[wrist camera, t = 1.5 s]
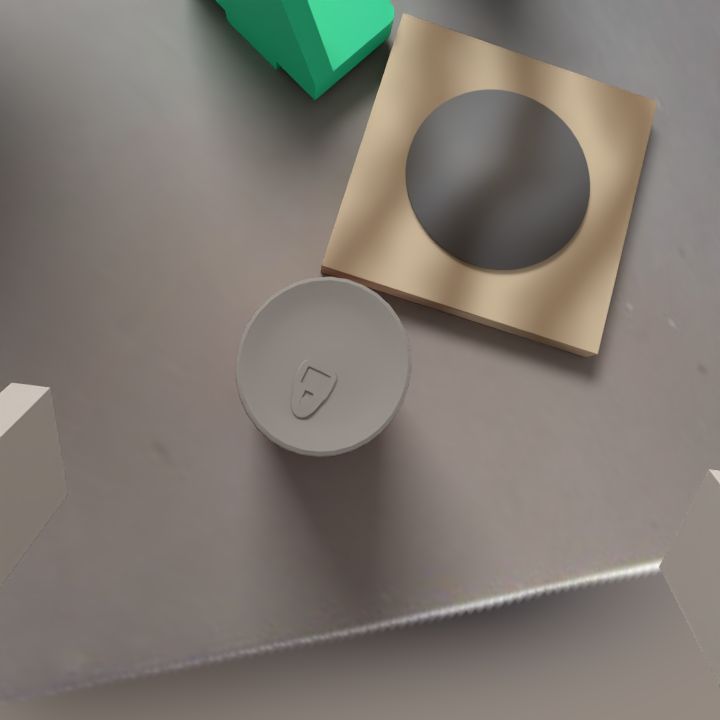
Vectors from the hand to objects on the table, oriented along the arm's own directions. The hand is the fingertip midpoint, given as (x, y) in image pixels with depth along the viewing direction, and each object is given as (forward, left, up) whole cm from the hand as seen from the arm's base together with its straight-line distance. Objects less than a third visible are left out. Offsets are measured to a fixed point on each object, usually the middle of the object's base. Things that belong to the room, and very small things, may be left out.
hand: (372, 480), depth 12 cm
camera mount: (-11, +28, -24) cm, 38 cm away
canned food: (-2, +4, -24) cm, 24 cm away
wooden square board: (+5, +20, -24) cm, 31 cm away
